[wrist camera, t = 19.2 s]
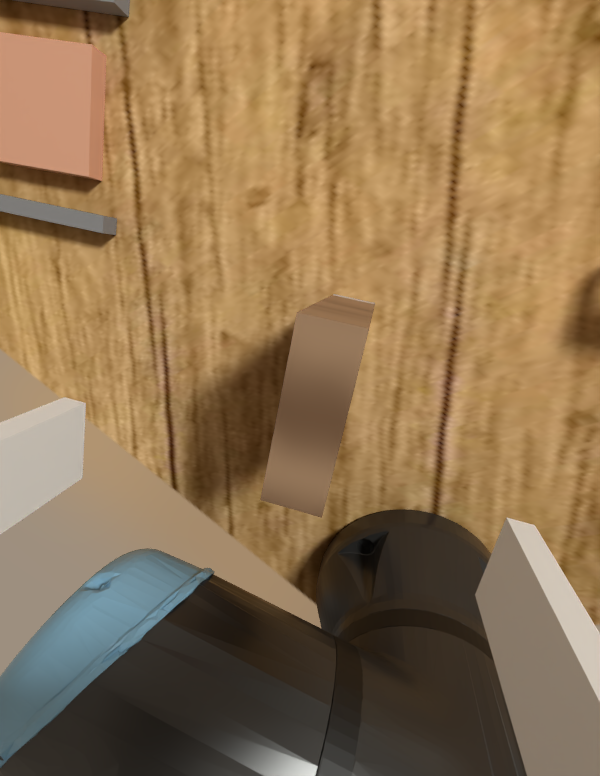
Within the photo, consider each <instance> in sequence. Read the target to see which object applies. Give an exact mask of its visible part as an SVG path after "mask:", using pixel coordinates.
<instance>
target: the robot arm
mask: <svg viewBox="0 0 600 776" xmlns="http://www.w3.org/2000/svg"><path fill="white" fill-rule="evenodd" d="M85 410H86V403H84V402H80V401H76V400H73V399H69V398H65V397H64V398H61V399H59V400H56V401H54V402H51V403H49V404H46V405H44V406H41V407H38V408H36V409H34V410H31V411H28V412H26V413H24V414H21V415H18V416H16V417H13V418H11V419H9V420H6V421H3V422H1V423H0V535H1V534H2V533H3V532H5V531H6V530H8V529H9V528H11V527H12V526H14V525H15V524H16V523H18V522H19V521H21V520H22V519H24V518H25V517H27V516H28V515H30V514H31V513H33V512H34V511H35V510H37V509H38V508H40V507H41V506H42V505H44V504H46V503H47V502H49V501H50V500H51V499H53V498H54V497H56V496H57V495H59V494H60V493H62V492H63V491H64V490H66V489H67V488H69V487H70V486H72V485H73V484H74V483H76V482H77V481H79V480H80V479H82V477H83V475H82V474H83V453H84V432H85ZM213 574H214V571H213V570H212V569H210V568H204V569H201V568H198V567H196V566H194V565H192V564H190V563H187V562H185V561H183V560H180V559H178V558H175V557H173V556H171V555H169V554H166V553H164V552H162V551H159V550H155V549H140V550H135V551H132V552H129V553H127V554H124V555H122V556H120V557H119V558H117V559H115V560H114V561H112V562H111V563H109V564H108V565H106V566H105V567H104V568H102V569H101V570H100V571H98V572H97V573H96V574H95V575H94V576H92V577H91V578H90V579H89V580H88V581H87V582H85V583H84V584H83V585H82V586H81V587H80V588H79V589H78V590H77V591H76V592H75V593H74V594H73V595H72V596H71V597H70V598H69V599H67V600H66V602H65V603H64V604H63V605H62V606H61V607H60V608H59V609H58V610H57V611H56V612H55V613H54V614H53V615H52V616H51V617H50V618H49V619H48V620H47V621H46V622H45V623H44V624H43V626H42V627H41V628H40V629H39V630H38V631H37V632H36V634H35V635H34V636H33V637H32V638H31V639H30V641H29V642H28V643H27V644H26V645H25V646H24V648H23V649H22V650H21V651H20V652H19V654H18V655H17V656H16V657H15V658H14V660H13V661H12V662H11V663H10V664H9V666H8V667H7V668H6V670H5V671H4V672H3V673H2V675H1V676H0V776H600V633H599V631H598V630H597V628H596V626H595V625H594V623H593V621H592V620H591V618H590V616H589V615H588V613H587V611H586V610H585V608H584V606H583V605H582V603H581V601H580V600H579V598H578V596H577V595H576V593H575V591H574V590H573V588H572V586H571V585H570V583H569V582H568V580H567V578H566V577H565V575H564V573H563V572H562V570H561V568H560V567H559V565H558V563H557V562H556V560H555V558H554V557H553V555H552V553H551V552H550V550H549V548H548V547H547V545H546V543H545V542H544V540H543V538H542V537H541V535H540V533H539V532H538V530H537V528H536V527H535V525H532V524H528V523H525V522H521V521H517V520H514V519H510V518H506V520H505V522H504V525H503V527H502V530H501V532H500V535H499V537H498V540H497V542H496V544H495V547H494V549H493V552H492V554H491V553H490V552H489V551H488V549H487V548H486V547H485V546H484V544H483V543H482V542H481V541H480V540H479V539H478V538H477V537H475V536H474V535H473V534H472V533H471V532H469V531H468V530H467V529H465V528H463V527H462V526H460V525H459V524H457V523H455V522H453V521H451V520H449V519H446V518H444V517H441V516H438V515H435V514H431V513H427V512H422V511H415V510H390V511H383V512H378V513H375V514H371V515H368V516H366V517H363V518H361V519H359V520H357V521H355V522H353V523H351V524H350V525H348V526H347V527H346V528H344V529H343V530H342V531H341V532H340V533H339V534H338V535H337V536H336V537H335V538H334V539H333V540H332V542H331V543H330V544H329V546H328V548H327V549H326V551H325V554H324V556H323V559H322V562H321V566H320V571H319V576H318V581H317V588H316V600H317V608H318V613H319V618H320V622H321V627H322V629H320V628H319V627H317V626H315V625H313V624H311V623H309V622H307V621H305V620H302V619H301V618H299V617H297V616H295V615H293V614H291V613H289V612H287V611H285V610H283V609H280V608H279V607H277V606H275V605H273V604H271V603H269V602H267V601H265V600H263V599H261V598H259V597H257V596H255V595H253V594H251V593H249V592H247V591H245V590H243V589H241V588H239V587H237V586H235V585H233V584H231V583H229V582H227V581H225V580H223V579H221V578H219V577H217V576H215V575H213Z"/></svg>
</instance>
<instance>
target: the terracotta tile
mask: <svg viewBox="0 0 600 776" xmlns="http://www.w3.org/2000/svg"><path fill="white" fill-rule="evenodd" d="M105 80H106V55H105V54H103V53H102V52H101V51H100V50H98V49H97V48H96V47H94V46H93V45H91V44H84V43H76V42H69V41H61V40H54V39H46V38H39V37H31V36H24V35H17V34H9V33H2V32H0V162H2V163H6V164H9V165H15V166H21V167H26V168H32V169H37V170H43V171H49V172H54V173H60V174H65V175H71V176H77V177H82V178H88V179H93V180H99V181H102V169H103V140H104V110H105Z"/></svg>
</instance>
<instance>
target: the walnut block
mask: <svg viewBox="0 0 600 776" xmlns="http://www.w3.org/2000/svg"><path fill="white" fill-rule="evenodd" d="M374 306H375V303H372V302H368V301H363V300H359V299H354V298H349V297H345V296H340V295H336V294H334V295H332V296H330V297H328V298H326V299H324V300H322V301H319V302H317V303H315V304H313V305H311V306H309V307H307V308H305V309H303V310H301V311H299V312H297V315H296V320H295V325H294V331H293V336H292V341H291V346H290V351H289V356H288V361H287V366H286V372H285V377H284V382H283V387H282V392H281V397H280V402H279V408H278V413H277V418H276V423H275V428H274V433H273V438H272V443H271V449H270V454H269V459H268V464H267V469H266V474H265V479H264V484H263V490H262V495H261V500H263V501H266V502H270V503H273V504H277V505H280V506H284V507H287V508H291V509H294V510H298V511H301V512H305V513H308V514H311V515H315V516H318V517H322V515H323V511H324V507H325V503H326V499H327V495H328V491H329V487H330V483H331V479H332V475H333V471H334V467H335V463H336V459H337V455H338V451H339V447H340V443H341V439H342V435H343V431H344V427H345V423H346V419H347V415H348V411H349V407H350V403H351V399H352V395H353V391H354V387H355V383H356V379H357V375H358V371H359V367H360V363H361V359H362V355H363V351H364V347H365V343H366V339H367V335H368V331H369V327H370V323H371V318H372V314H373V310H374Z"/></svg>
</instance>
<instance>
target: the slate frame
mask: <svg viewBox="0 0 600 776" xmlns="http://www.w3.org/2000/svg"><path fill="white" fill-rule="evenodd" d="M14 1H21V2H28V3H35V4H42V5H49V6H56V7H63V8H70V9H77V10H84V11H91V12H98V13H105V14H112V15H119V16H125V17H129V3H130V0H14ZM0 211H2V212H6V213H11V214H16V215H20V216H25V217H30V218H34V219H39V220H43V221H48V222H53V223H57V224H62V225H67V226H71V227H76V228H81V229H85V230H90V231H94V232H99V233H104V234H112V235H116V224H117V219H116V218H112V217H107V216H102V215H97V214H93V213H88V212H83V211H78V210H73V209H69V208H64V207H59V206H54V205H50V204H45V203H40V202H35V201H31V200H26V199H21V198H16V197H11V196H7V195H2V194H0Z"/></svg>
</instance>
